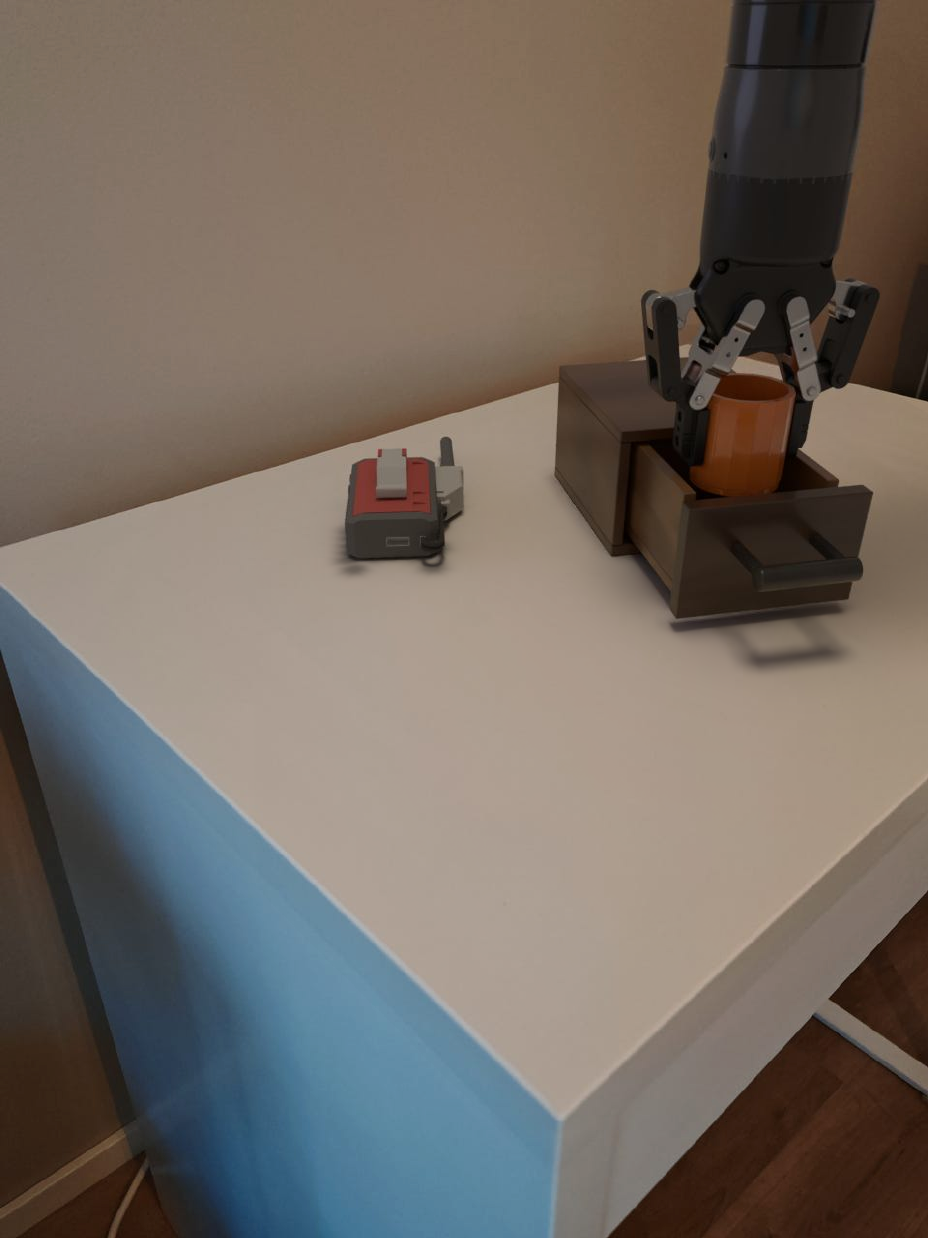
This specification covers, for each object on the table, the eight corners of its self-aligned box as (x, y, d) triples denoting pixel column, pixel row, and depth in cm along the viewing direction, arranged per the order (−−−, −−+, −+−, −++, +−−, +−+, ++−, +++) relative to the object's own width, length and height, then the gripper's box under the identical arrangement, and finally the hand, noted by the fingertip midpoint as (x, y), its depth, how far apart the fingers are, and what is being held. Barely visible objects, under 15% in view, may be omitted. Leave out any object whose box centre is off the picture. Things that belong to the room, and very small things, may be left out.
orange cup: (755, 459, 64) (769, 370, 61) (795, 493, 59) (812, 398, 56) (675, 466, 63) (685, 376, 60) (710, 501, 59) (723, 406, 55)
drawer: (889, 638, 56) (919, 525, 52) (705, 660, 54) (723, 545, 51) (752, 509, 71) (768, 414, 68) (605, 523, 70) (612, 426, 66)
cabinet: (779, 539, 69) (801, 417, 64) (611, 556, 67) (621, 431, 62) (698, 462, 81) (712, 354, 77) (554, 474, 79) (559, 365, 75)
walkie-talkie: (471, 565, 66) (458, 454, 83) (471, 506, 64) (458, 405, 81) (343, 569, 66) (356, 457, 83) (338, 510, 64) (352, 407, 81)
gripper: (680, 176, 47) (649, 492, 56) (944, 165, 50) (874, 471, 59) (629, 159, 54) (608, 445, 63) (865, 150, 56) (813, 428, 65)
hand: (737, 456), depth 61 cm, fingers closed on orange cup, 5 cm apart
